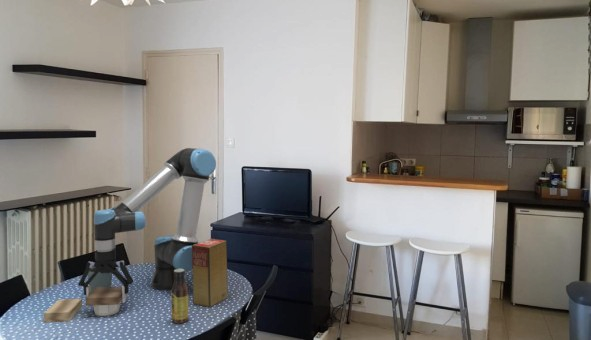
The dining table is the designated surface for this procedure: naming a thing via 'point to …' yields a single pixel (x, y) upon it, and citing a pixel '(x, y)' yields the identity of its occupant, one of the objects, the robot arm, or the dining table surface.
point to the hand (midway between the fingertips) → (106, 302)
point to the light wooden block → (63, 310)
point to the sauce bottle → (179, 297)
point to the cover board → (104, 296)
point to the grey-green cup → (100, 279)
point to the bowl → (106, 309)
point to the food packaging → (209, 272)
